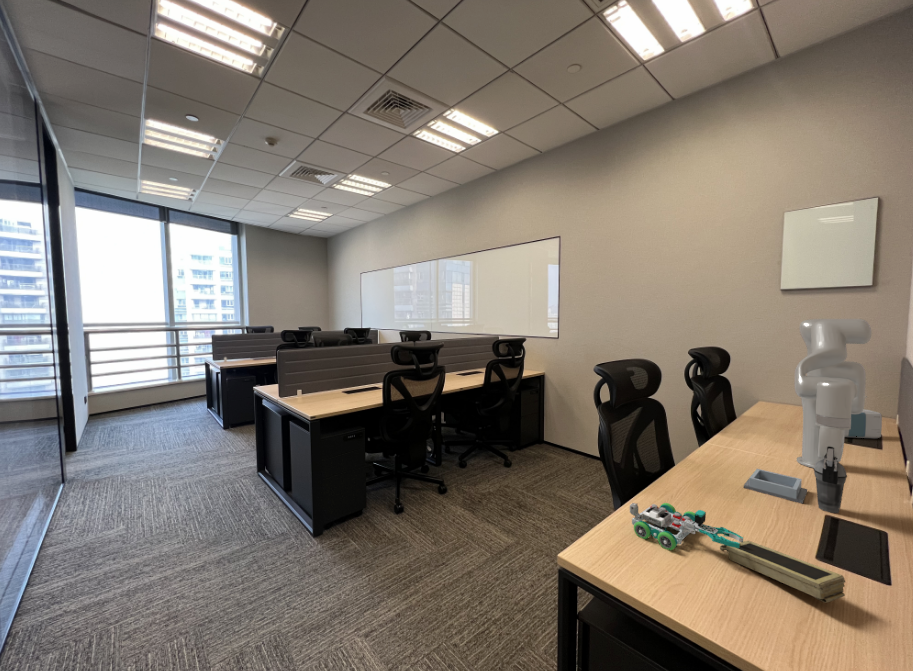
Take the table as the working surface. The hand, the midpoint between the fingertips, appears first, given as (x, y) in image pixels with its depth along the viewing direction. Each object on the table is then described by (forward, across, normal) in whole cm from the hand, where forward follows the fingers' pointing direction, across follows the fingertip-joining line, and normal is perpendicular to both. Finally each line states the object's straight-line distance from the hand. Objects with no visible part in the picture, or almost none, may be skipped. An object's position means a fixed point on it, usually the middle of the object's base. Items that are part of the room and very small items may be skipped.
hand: (830, 478), depth 112 cm
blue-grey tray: (+10, -5, -14) cm, 17 cm away
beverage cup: (+10, 0, 0) cm, 10 cm away
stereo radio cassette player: (+10, -109, +1) cm, 109 cm away
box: (+10, +51, -6) cm, 52 cm away
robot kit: (+10, +50, -24) cm, 56 cm away
